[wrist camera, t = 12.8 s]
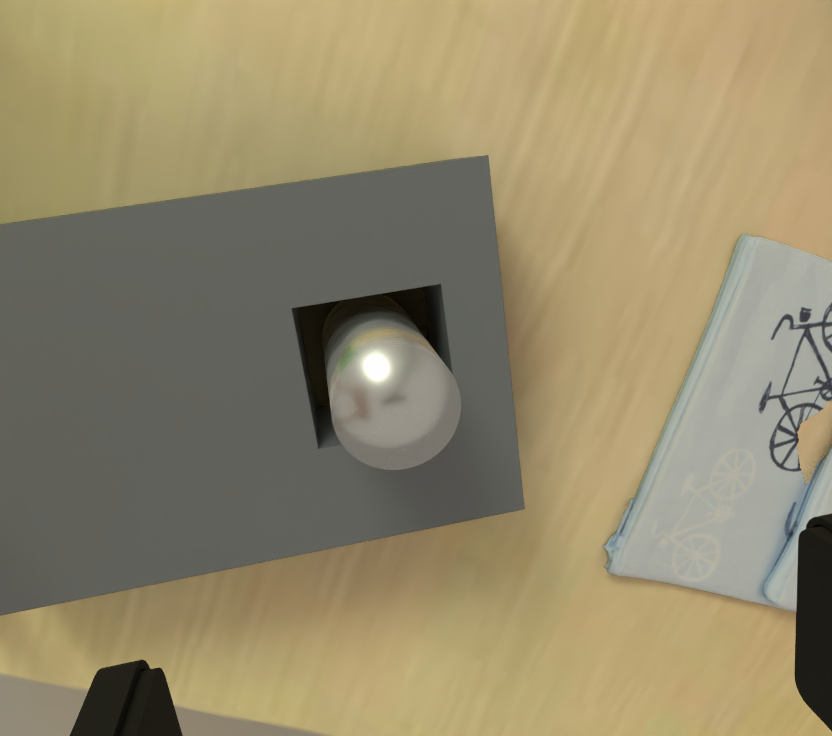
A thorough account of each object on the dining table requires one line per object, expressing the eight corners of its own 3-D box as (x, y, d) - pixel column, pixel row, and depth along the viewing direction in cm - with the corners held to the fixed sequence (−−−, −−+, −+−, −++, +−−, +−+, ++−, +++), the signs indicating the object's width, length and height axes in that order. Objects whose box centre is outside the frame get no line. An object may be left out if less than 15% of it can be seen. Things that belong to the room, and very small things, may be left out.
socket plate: (458, 158, 29) (488, 155, 25) (492, 461, 33) (524, 509, 29) (-96, 238, 27) (-181, 251, 22) (13, 554, 31) (-40, 623, 26)
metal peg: (405, 285, 31) (452, 335, 21) (417, 372, 32) (468, 456, 22) (314, 300, 30) (320, 358, 21) (330, 387, 31) (343, 480, 22)
